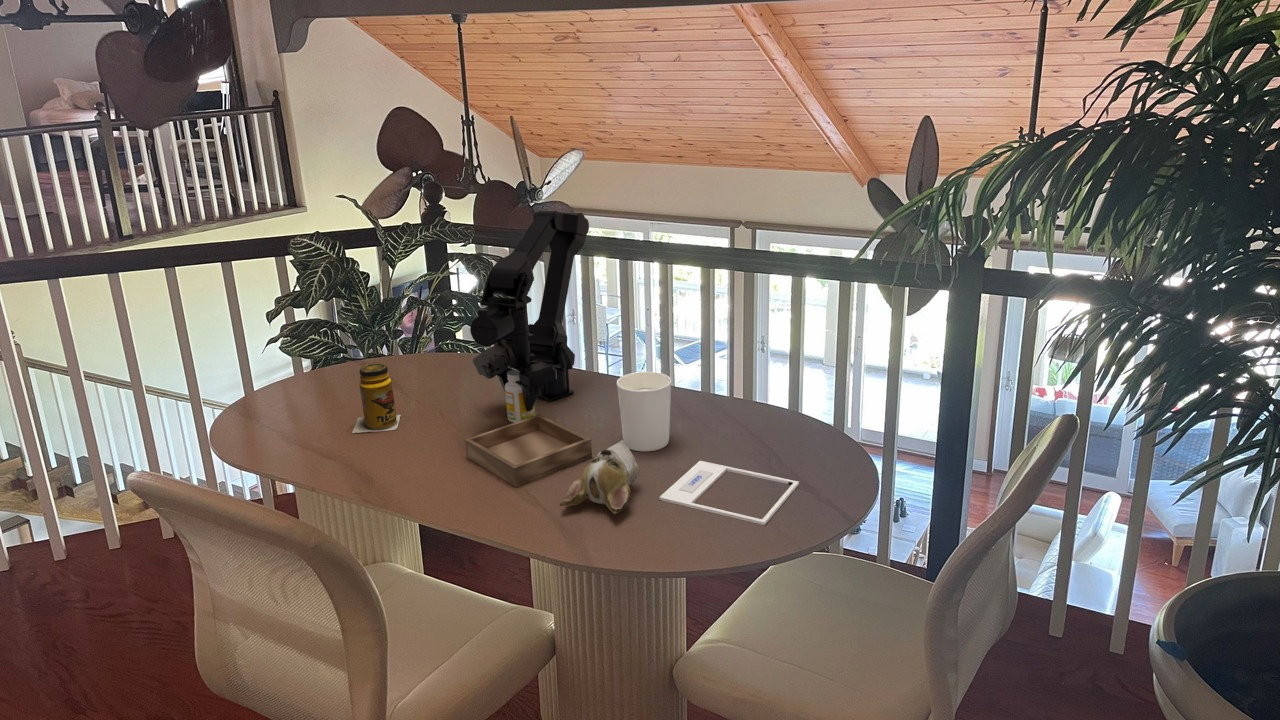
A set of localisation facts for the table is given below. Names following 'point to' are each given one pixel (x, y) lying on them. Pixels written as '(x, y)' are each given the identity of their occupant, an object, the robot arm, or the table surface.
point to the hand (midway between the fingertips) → (520, 406)
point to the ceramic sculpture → (606, 479)
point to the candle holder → (645, 410)
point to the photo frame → (704, 477)
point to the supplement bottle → (515, 399)
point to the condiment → (376, 400)
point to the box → (528, 449)
